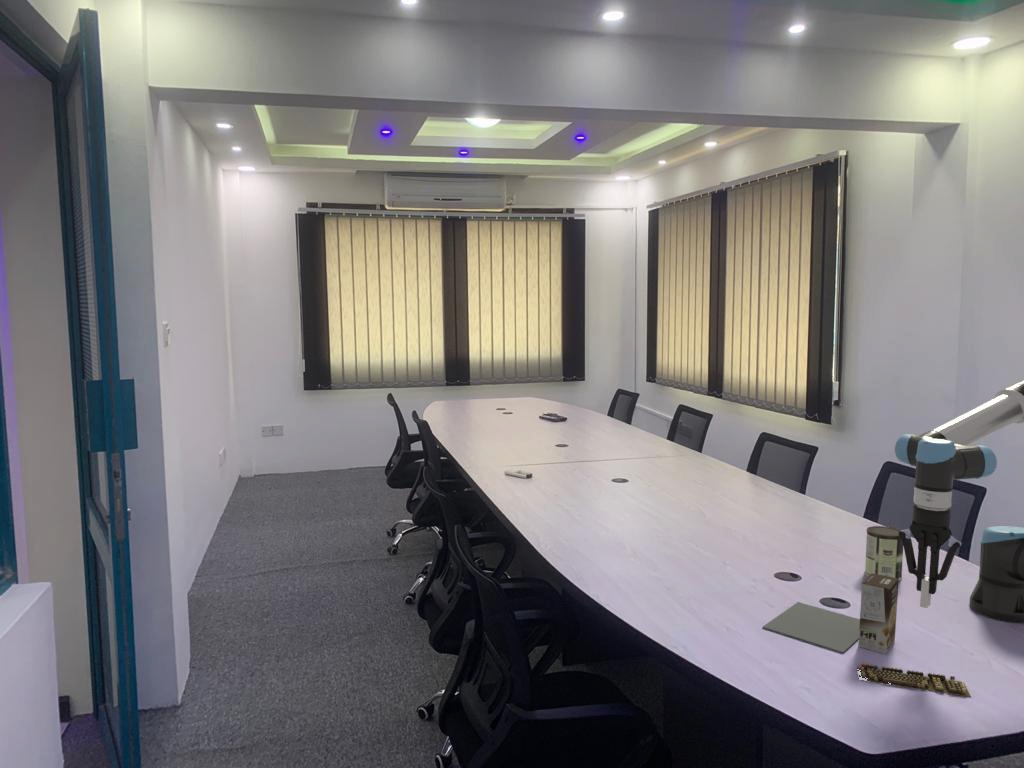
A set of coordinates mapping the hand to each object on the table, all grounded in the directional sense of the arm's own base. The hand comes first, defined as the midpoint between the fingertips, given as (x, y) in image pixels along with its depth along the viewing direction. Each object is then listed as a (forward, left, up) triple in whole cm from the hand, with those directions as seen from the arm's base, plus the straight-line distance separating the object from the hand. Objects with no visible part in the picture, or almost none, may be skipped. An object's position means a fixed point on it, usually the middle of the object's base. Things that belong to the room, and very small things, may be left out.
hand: (925, 605), depth 171 cm
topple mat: (+24, 0, -13) cm, 27 cm away
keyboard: (-1, +13, -14) cm, 19 cm away
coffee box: (+10, 0, -13) cm, 16 cm away
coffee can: (+24, -50, -13) cm, 57 cm away
